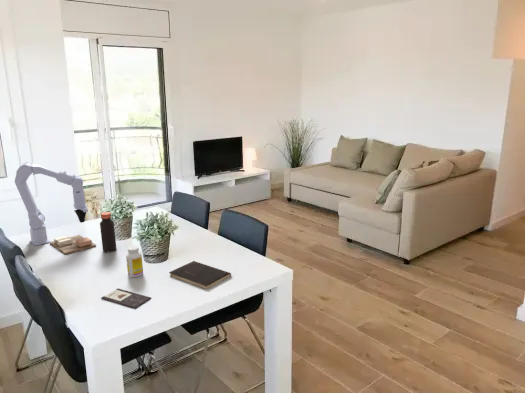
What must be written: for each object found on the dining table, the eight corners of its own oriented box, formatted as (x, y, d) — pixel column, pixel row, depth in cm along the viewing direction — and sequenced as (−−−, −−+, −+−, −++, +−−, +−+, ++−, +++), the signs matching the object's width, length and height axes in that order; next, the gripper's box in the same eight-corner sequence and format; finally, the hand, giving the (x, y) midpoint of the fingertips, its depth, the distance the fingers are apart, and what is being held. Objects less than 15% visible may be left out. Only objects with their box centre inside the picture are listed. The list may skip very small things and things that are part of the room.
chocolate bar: (135, 307, 165) (101, 297, 173) (135, 309, 165) (101, 299, 174) (151, 297, 173) (118, 288, 181) (151, 299, 173) (118, 290, 181)
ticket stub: (76, 244, 229) (75, 239, 228) (87, 241, 233) (86, 237, 232) (80, 247, 225) (80, 242, 224) (92, 244, 229) (91, 239, 228)
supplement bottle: (146, 272, 197) (143, 246, 194) (137, 278, 191) (135, 251, 188) (133, 270, 199) (131, 244, 196) (125, 276, 193) (122, 249, 190)
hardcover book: (206, 290, 180) (206, 285, 180) (169, 276, 194) (169, 272, 193) (231, 277, 193) (231, 272, 192) (194, 264, 206) (194, 260, 205)
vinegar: (107, 253, 220) (103, 216, 214) (100, 250, 224) (96, 213, 219) (119, 249, 225) (115, 213, 219) (112, 246, 229) (108, 210, 224)
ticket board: (50, 243, 234) (49, 237, 233) (79, 236, 244) (78, 230, 244) (65, 254, 218) (64, 248, 218) (96, 246, 229) (95, 240, 228)
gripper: (91, 199, 234) (94, 223, 238) (81, 194, 244) (84, 217, 248) (78, 202, 229) (81, 226, 233) (68, 197, 239) (71, 220, 243)
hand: (82, 222), depth 240 cm, fingers closed
